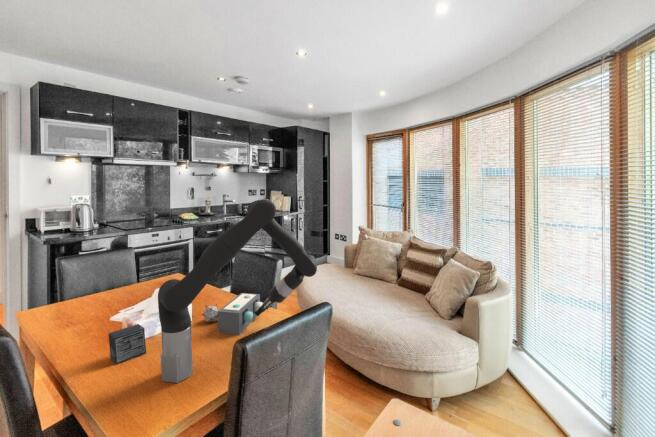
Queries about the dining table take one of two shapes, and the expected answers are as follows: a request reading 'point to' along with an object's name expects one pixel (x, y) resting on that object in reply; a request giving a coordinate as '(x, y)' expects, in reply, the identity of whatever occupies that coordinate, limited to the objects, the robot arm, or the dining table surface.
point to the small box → (127, 343)
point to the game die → (211, 313)
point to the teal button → (248, 316)
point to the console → (236, 314)
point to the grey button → (257, 305)
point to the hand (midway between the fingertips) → (256, 314)
